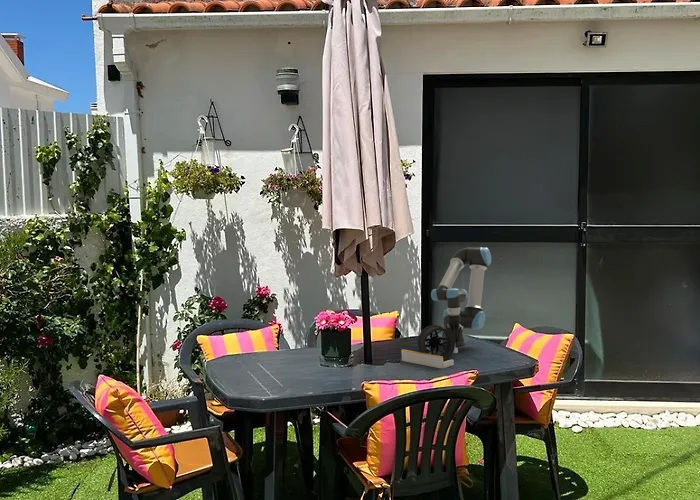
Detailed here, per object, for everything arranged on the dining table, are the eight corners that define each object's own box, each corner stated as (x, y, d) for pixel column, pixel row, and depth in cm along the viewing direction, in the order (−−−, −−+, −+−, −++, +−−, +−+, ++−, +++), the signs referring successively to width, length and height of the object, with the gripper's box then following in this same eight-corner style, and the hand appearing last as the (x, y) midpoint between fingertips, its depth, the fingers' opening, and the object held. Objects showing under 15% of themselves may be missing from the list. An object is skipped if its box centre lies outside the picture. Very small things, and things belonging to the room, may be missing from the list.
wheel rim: (449, 356, 387) (448, 323, 386) (455, 359, 378) (454, 326, 377) (418, 360, 382) (416, 326, 381) (423, 363, 373) (422, 329, 372)
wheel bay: (413, 357, 389) (413, 346, 389) (453, 365, 366) (453, 353, 366) (401, 360, 383) (401, 349, 382) (442, 368, 359) (441, 356, 359)
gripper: (441, 314, 392) (443, 352, 394) (458, 316, 382) (460, 355, 384) (449, 312, 397) (451, 350, 399) (466, 314, 387) (468, 352, 389)
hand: (455, 352), depth 392 cm, fingers closed
